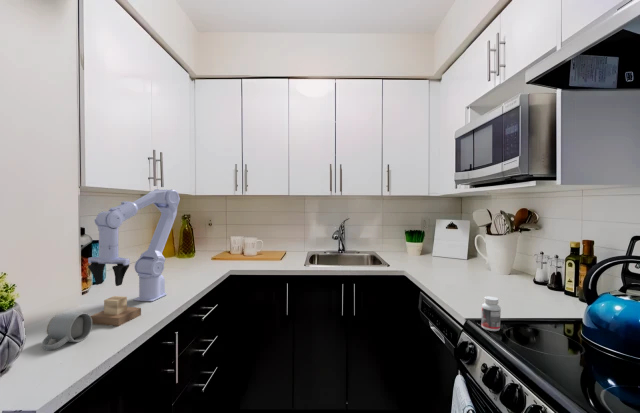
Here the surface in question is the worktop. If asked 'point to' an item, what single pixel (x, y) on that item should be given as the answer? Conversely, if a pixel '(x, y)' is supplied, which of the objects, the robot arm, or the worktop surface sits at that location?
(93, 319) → the walnut block
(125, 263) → the robot arm
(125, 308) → the oak cube
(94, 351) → the worktop surface
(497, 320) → the pill bottle
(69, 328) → the ceramic mug
